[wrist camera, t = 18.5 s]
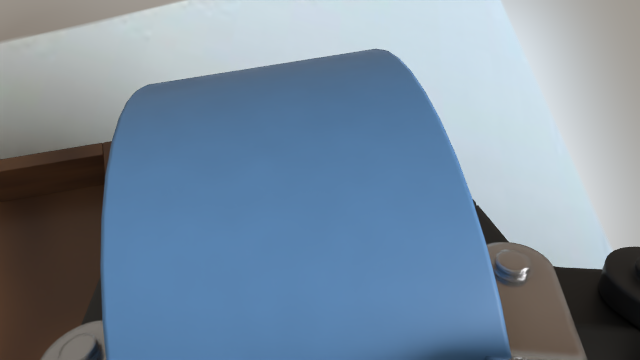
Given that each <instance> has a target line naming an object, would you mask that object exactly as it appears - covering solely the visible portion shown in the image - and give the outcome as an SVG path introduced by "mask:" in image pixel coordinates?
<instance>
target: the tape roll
mask: <svg viewBox="0 0 640 360" xmlns="http://www.w3.org/2000/svg"><path fill="white" fill-rule="evenodd" d="M100 272H101V297H102V322H103V333H104V343H105V353H106V360H485V357H486V356H493V357H504V358H511V351H510V346H509V341H508V336H507V331H506V326H505V321H504V315H503V310H502V305H501V300H500V296H499V292H498V288H497V284H496V280H495V276H494V272H493V268H492V264H491V260H490V256H489V252H488V248H487V245H486V242H485V239H484V235H483V232H482V229H481V226H480V222H479V219H478V216H477V213H476V209H475V206H474V203H473V200H472V197H471V194H470V191H469V189H468V186H467V183H466V181H465V178H464V175H463V172H462V170H461V167H460V164H459V162H458V159H457V156H456V154H455V152H454V149H453V147H452V145H451V143H450V140H449V138H448V136H447V134H446V131H445V129H444V127H443V125H442V122H441V120H440V118H439V116H438V114H437V113H436V111H435V109H434V107H433V105H432V103H431V102H430V100H429V98H428V96H427V94H426V92H425V91H424V89H423V88H422V86H421V85H420V83H419V82H418V80H417V79H416V78H415V76H414V75H413V73H412V72H411V70H410V69H409V68H408V67H407V66H406V65H405V64H404V63H403V62H402V61H401V60H400V59H399V58H398V57H396V56H395V55H393V54H392V53H390V52H389V51H385V50H380V49H371V50H365V51H359V52H352V53H346V54H340V55H333V56H327V57H321V58H314V59H308V60H302V61H295V62H289V63H283V64H276V65H270V66H264V67H257V68H251V69H245V70H238V71H232V72H225V73H219V74H213V75H206V76H200V77H194V78H187V79H181V80H175V81H168V82H162V83H156V84H149V85H146V86H144V87H142V88H141V89H139V90H137V91H136V92H135V93H134V94H133V95H132V96H131V98H130V99H129V100H128V101H127V103H126V105H125V107H124V109H123V111H122V113H121V115H120V117H119V119H118V123H117V126H116V129H115V133H114V136H113V139H112V143H111V148H110V153H109V159H108V164H107V170H106V175H105V185H104V196H103V207H102V217H101V260H100Z"/></svg>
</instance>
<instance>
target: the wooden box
mask: <svg viewBox="0 0 640 360" xmlns="http://www.w3.org/2000/svg"><path fill="white" fill-rule="evenodd" d="M111 143H112V141H110V142H104V143H98V144H92V145H86V146H80V147H74V148H67V149H61V150H55V151H49V152H43V153H37V154H31V155H25V156H19V157H13V158H7V159H1V160H0V360H40V359H41V357H42V356H43V355H44V353H45V352H46V350H47V349H48V348H49V347H50V346H51V345H52V344H53V343H54V342H55V341H56V340H58V339H59V338H60V337H61V336H63V335H64V334H66V333H67V332H69V331H71V330H72V329H74V328H76V327H78V326H81V324H82V321H83V319H84V316H85V314H86V311H87V309H88V306H89V304H90V301H91V299H92V296H93V294H94V291H95V288H96V286H97V283H98V281H99V278H100V276H101V272H100V260H101V217H102V207H103V196H104V185H105V175H106V170H107V164H108V159H109V153H110V148H111Z"/></svg>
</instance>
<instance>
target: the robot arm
mask: <svg viewBox="0 0 640 360" xmlns="http://www.w3.org/2000/svg"><path fill="white" fill-rule="evenodd" d="M472 200H473V199H472ZM473 203H474V206H475V209H476V213H477V216H478V219H479V222H480V226H481V229H482V232H483V235H484V239H485V242H486V245H487V248H488V252H489V256H490V260H491V264H492V268H493V272H494V276H495V280H496V284H497V288H498V292H499V296H500V300H501V305H502V310H503V315H504V321H505V326H506V331H507V336H508V341H509V346H510V351H511V358H504V357H493V356H486V357H485V360H640V247H625V248H620V249H617V250H615V251H613V252H611V253H610V254H609V255H608V256H607V258H606V260H605V264H604V267H603V269H582V268H563V267H555V266H552V264H551V263H550V261H549V260H548V259H547V258H546V257H545V256H543V255H542V254H541V253H539V252H538V251H536V250H534V249H532V248H530V247H527V246H524V245H521V244H516V243H510V242H508V241H507V239H506V238H505V237H504V236H503V235H502V233H501V232H500V231H499V230H498V229H497V227H496V226H495V225H494V224H493V223H492V221H491V220H490V219H489V218H488V217H487V215H486V214H485V213H484V212H483V211H482V209H481V208H480V207H479V206H478V205H477V206H476V202H475V201H474V200H473ZM40 360H106V353H105V343H104V333H103V322H102V297H101V276H100V278H99V281H98V283H97V286H96V288H95V291H94V294H93V296H92V299H91V301H90V304H89V306H88V309H87V311H86V314H85V316H84V319H83V321H82V324H81V326H78V327H76V328H74V329H72V330H71V331H69V332H67V333H66V334H64V335H63V336H61V337H60V338H59V339H58V340H56V341H55V342H54V343H53V344H52V345H51V346H50V347H49V348H48V349H47V350H46V352H45V353H44V355H43V356H42V357H41V359H40Z"/></svg>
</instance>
